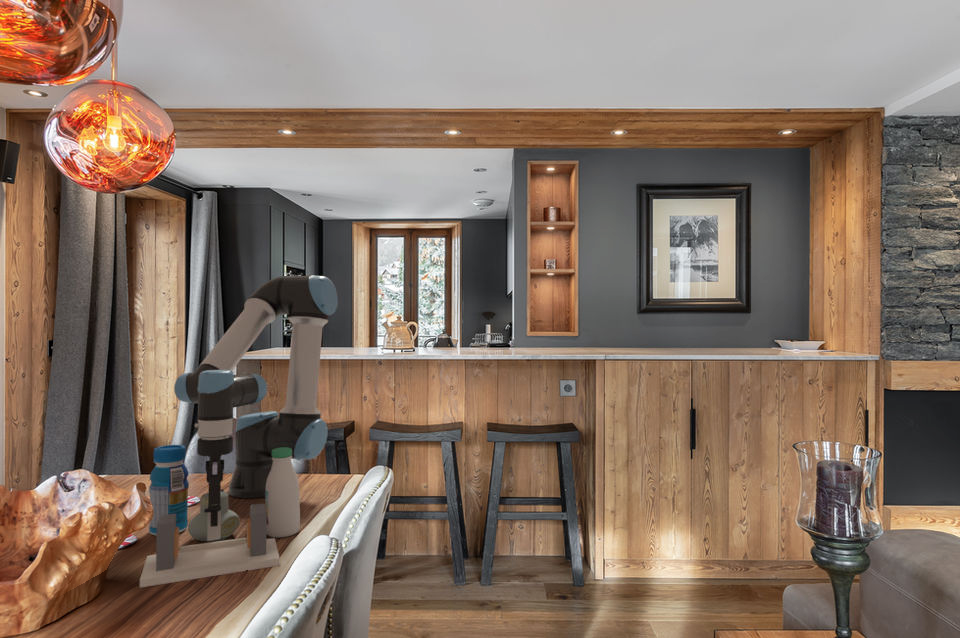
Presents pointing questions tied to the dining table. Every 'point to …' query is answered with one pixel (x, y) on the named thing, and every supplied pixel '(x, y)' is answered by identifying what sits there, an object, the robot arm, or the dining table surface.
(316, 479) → the dining table surface
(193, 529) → the air freshener
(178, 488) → the beverage bottle
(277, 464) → the milk bottle
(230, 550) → the rail
